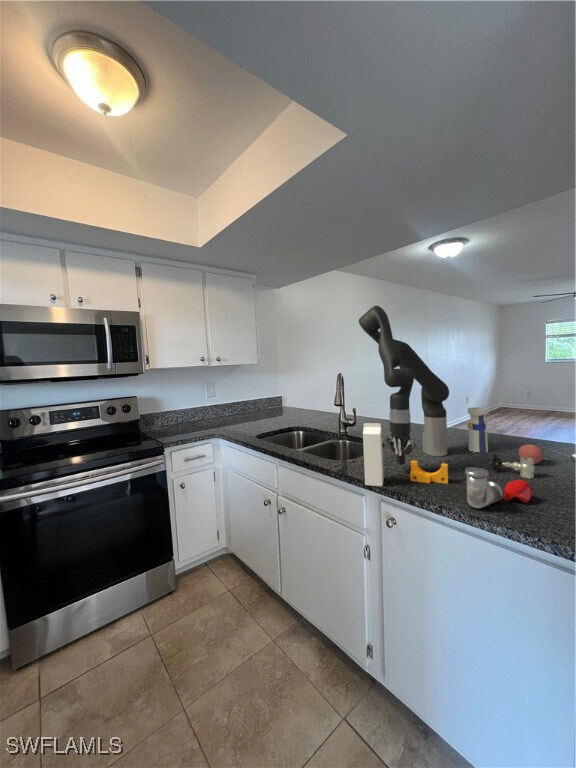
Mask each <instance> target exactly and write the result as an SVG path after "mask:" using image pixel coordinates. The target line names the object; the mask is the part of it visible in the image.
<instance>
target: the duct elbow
mask: <svg viewBox="0 0 576 768" xmlns="http://www.w3.org/2000/svg"><path fill="white" fill-rule="evenodd" d="M464 474H465V475H466V499H467V503H468V504H469V506H471V507H473V508H475V509H478V510H480V509H484V508H485V507H488V506H490V505H491V504H494V503H496V502H499V501H501V500H502V499H504V494H505V491H504V489H503V487H502V486H501V485H500V484H499V483H497V482H495V481H492V480H489V481H488V477H489V471H488V470H486V469H485V468H481V467H473V466H472V467H466V468H465V469H464Z"/></svg>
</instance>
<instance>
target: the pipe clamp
mask: <svg viewBox="0 0 576 768" xmlns="http://www.w3.org/2000/svg"><path fill="white" fill-rule="evenodd" d="M440 465H441V466H440V468H439V469H438V470H437V471H434V472H427V471H425V470H423V469H422V468H421V467H420V466H419V463H418V460H413V459H412V460H411V461H410V472H409V473H410V475H409V477H410V482H416V481H417V483H418V482H419V483H425V484H431V482H433V483H439V484H440V483H441V484H447V485H448V483H449V472H448V471H449V465H448V463H443V462H442V463H441V464H440Z"/></svg>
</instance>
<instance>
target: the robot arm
mask: <svg viewBox="0 0 576 768" xmlns="http://www.w3.org/2000/svg"><path fill="white" fill-rule="evenodd" d="M358 324H359V326H360V327H361V329H362V330H363V331H364V332H365V333H366V334H367V336H369V337H370V338H371V339H372V340H373V341H374V342H376V343H377V345H378V349H377V350H378V354H379V357H380V359H381V363H382V365H383V379H384V382H385V385H387V386H388V387H389V388H399V390H397V392H394V393H391V395H390V396H389V432H390V437H386V439H385V440H386V441H387V443H388V445H389V448H390V450H391V451H392V453H395V456H396V464H397V465H398V466H399V465H400V466H403V465H405V463H406V456H407V455H411V452H412V451H413V450H414V448H415V447H416V445H417V444H416V443H413V442H412V441H411V436H410V434H411V432H412V431H411V429H412V427H411V412H410V411H411V410H410V397H411V393H412V389H413V385H414V381H416V382H417V383H418V384H419V385H420V386H421V391H420V393H421V394H420V395H421V396H420V397H421V409H422V411H423V426H424V428H423V429H424V431H422V453H425V454H426V455H429V456H432V457H433V456H434V457H444V455H445V456H447V455H448V425H447V420H448V419H447V409H446V408H445V407H444V404H443V402H445V401H446V400H448V398H449V396H450V389H449V386H448V385H447V384H446V383H445V382H444V381H443V380H442V379H441V378H439V376H437V375H436V373H434V372H433V371H432V370H431V369H430V368H429V367H428V365H427V363H425V361H423V359H422V358H421V357H420V356H419V355H418V353H417V352H416V351H415V350H414V349H413V348H412V347H411V346H410V345H409V344H408V343H407V342H405V341H402V340H398V339H395V338H394V337H393V332H392V327H391V324H390V320H389V316H388V314H387V313H386V311H385V310H384V309H383V308H382V307H380V306H379V305H373V306H372V307H370V308H369V309H368V310H367V311H366V312H365V313H363V315H362V316H360V318H359V319H358Z"/></svg>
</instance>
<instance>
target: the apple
mask: <svg viewBox="0 0 576 768" xmlns="http://www.w3.org/2000/svg"><path fill="white" fill-rule="evenodd" d="M518 456H519V459H520V458H522V457H528V458H532V459H533V460H534V464H533V465H536V464H538V463H540V462H541V461H542V460H543V457H544V452H543V450H542V449H541V448H540V447H538V446H537V445H533V444H531V443H529V444H524V445H521V446H520V447H519V449H518Z"/></svg>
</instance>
